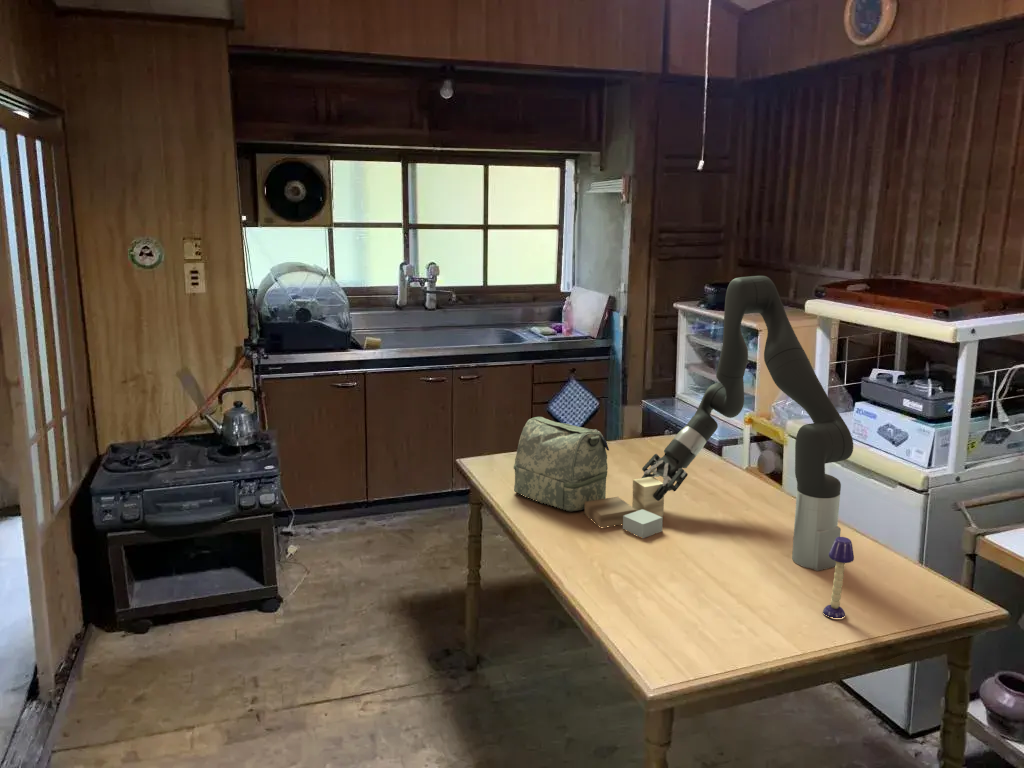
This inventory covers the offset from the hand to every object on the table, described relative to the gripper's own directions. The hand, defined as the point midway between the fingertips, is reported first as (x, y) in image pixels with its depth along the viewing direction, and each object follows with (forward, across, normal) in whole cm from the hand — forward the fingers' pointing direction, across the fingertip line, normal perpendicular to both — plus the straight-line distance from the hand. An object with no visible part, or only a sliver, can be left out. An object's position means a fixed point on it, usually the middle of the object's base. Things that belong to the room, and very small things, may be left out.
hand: (647, 493), depth 213 cm
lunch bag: (+15, -20, -7) cm, 26 cm away
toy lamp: (-1, +61, +9) cm, 62 cm away
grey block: (+9, +9, -1) cm, 13 cm away
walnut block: (+12, -1, -3) cm, 12 cm away
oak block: (+4, 0, +4) cm, 6 cm away
